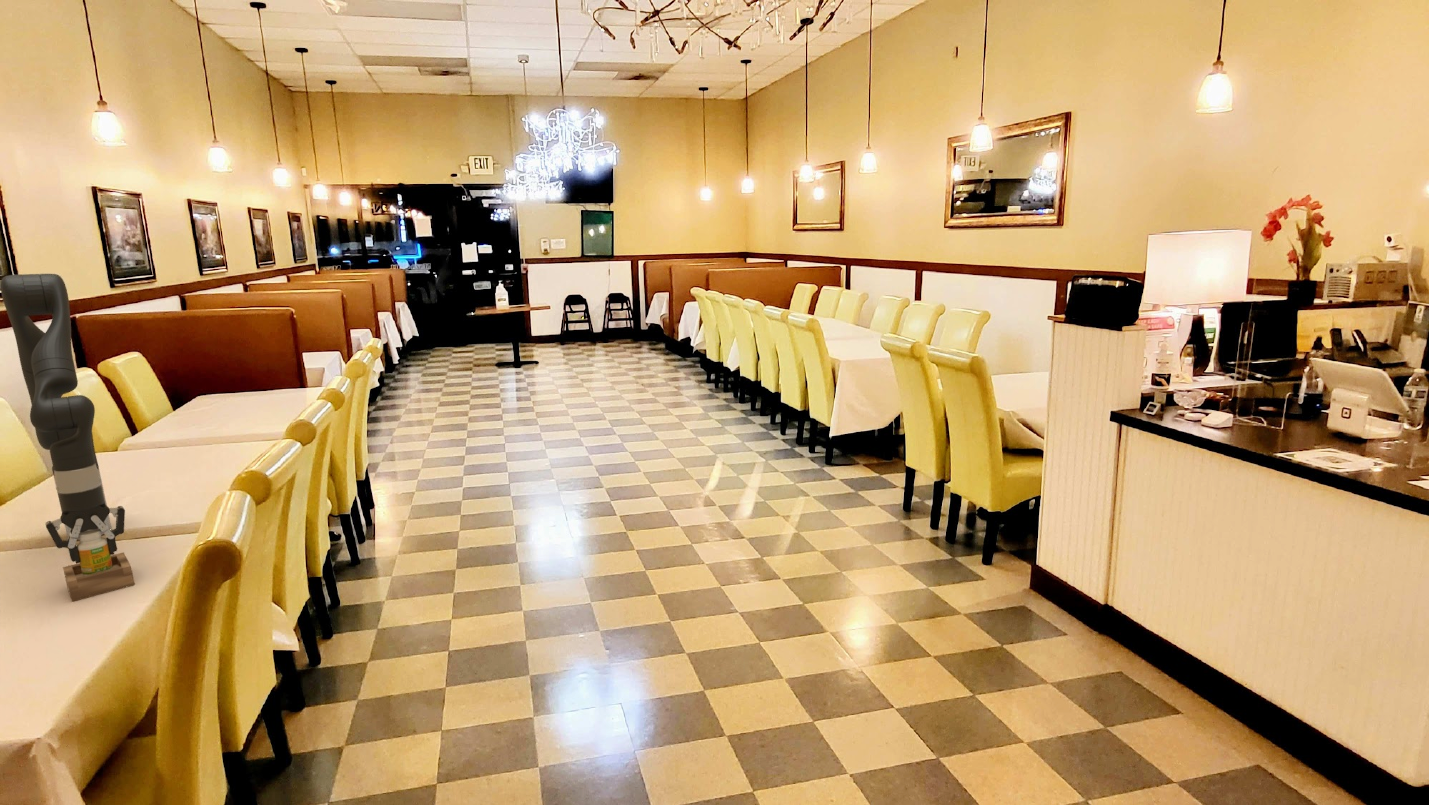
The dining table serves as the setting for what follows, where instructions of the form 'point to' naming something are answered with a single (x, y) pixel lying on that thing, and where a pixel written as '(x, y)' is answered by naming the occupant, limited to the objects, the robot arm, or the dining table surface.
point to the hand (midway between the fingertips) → (94, 557)
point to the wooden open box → (98, 578)
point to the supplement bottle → (93, 552)
